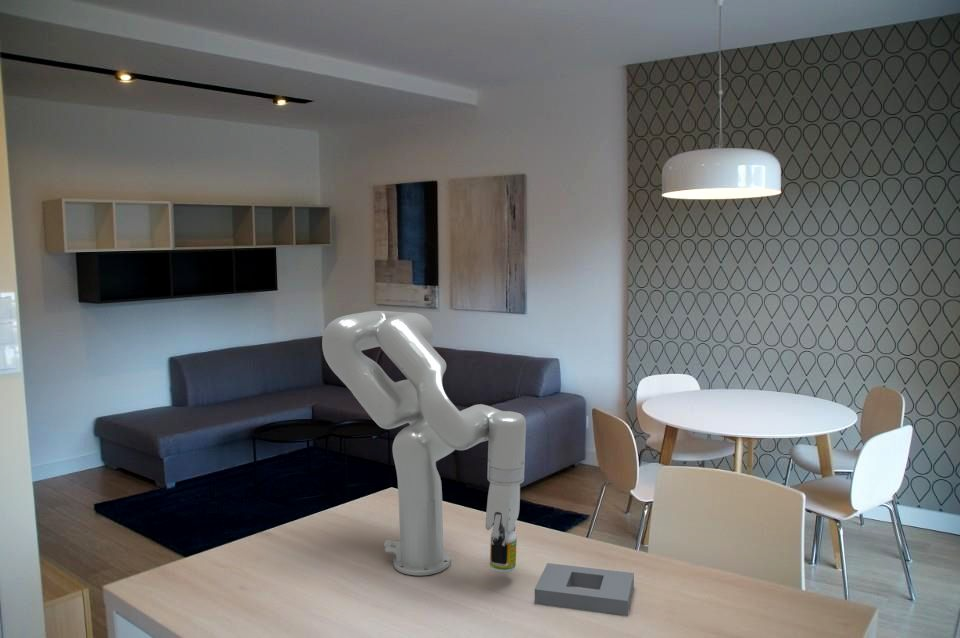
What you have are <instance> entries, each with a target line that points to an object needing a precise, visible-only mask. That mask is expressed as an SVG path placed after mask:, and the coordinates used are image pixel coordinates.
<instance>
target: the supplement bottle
mask: <svg viewBox="0 0 960 638" xmlns="http://www.w3.org/2000/svg"><path fill="white" fill-rule="evenodd" d="M500 529H502V530H504V529H505V527H500ZM513 530H514V525H513V526H512V528H511V529H510V530H509V531H508V532H507V539H506V545H507V563H506V564H500V563H494V562H492V561H491V549H492V538H491V537H490V549H489V550H490V552H489V555H490V556H489V566H490V568H491V569H492V570H493V571H496V572H497V573H510V572H512V571H513V570H514V569H516V564H517V540H518V539H517V537H518V536H517V534H516V531H515V532H514V531H513ZM491 534H492V532H491ZM491 534H490V535H491ZM499 534H500V536H502V539H503V533H499Z"/></svg>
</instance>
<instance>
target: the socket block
mask: <svg viewBox="0 0 960 638" xmlns="http://www.w3.org/2000/svg"><path fill="white" fill-rule="evenodd" d="M539 577H540V578H539V580H538V581H537V584H536V586H535V587H534V604H535V605H542V606H547V607H548V606H549V607H557V608H562V609H563V608H565V609H572V610H581V611H585V612H586V611H587V612H594V613H595V612H596V613H602V614H610V615H616V614H617V615H616V616H618V615H619V616H624V615H625V617H628V616H629V611H630V607H631V601H632V597H633V592H634V588H635V573H634V572H629V571H619V570H611V569H603V568H602V569H601V568H595V567H593V568H592V567H586V566H579V565H578V566H576V565H568V564H557V563H550V562H547V563H546V565H545V567H544V569H543V570H542V573H541V575H540V576H539Z"/></svg>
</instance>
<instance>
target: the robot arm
mask: <svg viewBox="0 0 960 638" xmlns="http://www.w3.org/2000/svg"><path fill="white" fill-rule="evenodd" d="M433 338H434V329H433V325H432V323H431V322H430V321H429V319H428V318H427V317H426V316H425V315H423V314H420V313H417V312H407V311H390V310H369V311H363V312H358V313H351V314H347V315H343V316H339V317H337V318H335V319H333V320H332V321H330V322H329V323H328V324H327V325H326V327H325V329H324V331H323V334H322V338H321V341H322V342H321V346H322V347H321V349H322V352H323V356H324V357H323V358H324V359H325V362H326V363H327V364H328V366H329V368H330V369H331V371H332V372H333V373H334V374H335V375H336V377H338V379H339V380H340V381H341V382H342V383H343V385H345V386H346V388H348V389H349V391H350V392H351V394H352V395H353V396H354V398H355V399H356V400H357V401H358V403H359V404H360V405H361V407H362V408H363V409H364V411H365V412H366V413H367V414H368V416H369V417H370V418H371V419H372V421H374V422H375V424H376V425H377V426H378V427H380V428H381V429H384V430H391V429H395V428H398V427H400V426H403V425H406V424H409V425H408V426H406V427H404V428H403V429H401V430H400V431H399V432H398V433H397V435H396V436H395V437H394V440H393V443H392V457H393V461H394V465H395V470H396V471H395V472H396V478H397V493H398V495H397V497H398V516H399V517H398V520H399V521H398V523H399V525H398V527H399V540H398V541H396V540H389V539H385V541H384V543H383V544H384V545H383V547H384V552H385V554H394V558H393V567H394V569H396V571H398V572H399V573H402V574H404V575H409V576H419V577H420V576H429V575H434V574H438V573H441V572H443V571H444V570H446V569H448V568H449V567H450V565H451V561H452V560H451V555H450V553H449V552H448V551H446V550H445V549H444V525H443V524H444V523H443V522H444V520H443V518H444V517H443V490H442V488H443V487H442V480H441V476H440V474H439V471H438V469H437V462H438V461H440V460H441V459H443V458H445V457H447V456H448V455H450V454H452V453H453V452H454V451H455V450H456V451H465V450H469V449H471V448H473V447H475V446H476V445H478V444H480V443H483V442H486V441H488V443H487V444H488V445H487V446H488V447H487V449H488V450H487V451H488V452H487V481H488V482H489V487H488V492H487V493H488V494H487V501H486V502H487V503H486V512H485V513H486V514H485V529H486V530H487V531H489V530H491V529H492V531H491V533H492V534H490V539H491V538H492V549H491V561H492V562H494V563H500V564H506V563H507V545H506V539H507V532H508V531H509V530H510V529H511V528H512V526H513V525H514V530H513V531H514V532H515V533H516V522H517V520H518V518H519V514H520V506H521V505H520V503H521V502H520V501H521V500H520V499H521V484H522V483H524V480H525V463H526V459H525V458H526V439H527V438H526V437H527V435H526V433H527V419H526V418H525V415H523V414H522V413H519V412H515V411H510V410H507V411H505V410H500V409H498V408H495V407H492V406H490V405H486V404H483V403H480V404H474V405H472V406H469V407H467V408H465V409H462V410H459V409H458V408H457V407H456V406H455V404H454V403H453V402H452V401H451V400H450V398H449V397H448V395H447V394H446V391H445V390H444V386H443V377H444V374H445V372H446V370H447V363H446V360H445V359H444V358H443V357H442V356H441V355H440V354H439V353H438V351H437V350H436V349H435V348H434V347H433V346H432V345H431V343H432V341H433ZM379 347H380V349H381V350H382V351H383V353H384V354H385V355H386V356H387V357H388V358H389V359H390V361H392V363H393V364H394V365H395V366H396V368H398V370H400V372H401V373H402V374H403V375H404V376H405V378H406V379H403V380H399V381H394V380H393V379H392V378H390V377H389V376H388V374H387V373H386V372H385V371H384V370H383V368H382V367H381V366H380V365H379V364H378V362H376V361H374V360H373V359H372V358H370V357H368V356H367V355H365V354H364V353H363V352H362V351H366V350H370V349H374V348H379ZM500 527H505V529H504V530H502V529H500ZM499 533H503V539H502V536H500V534H499Z"/></svg>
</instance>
